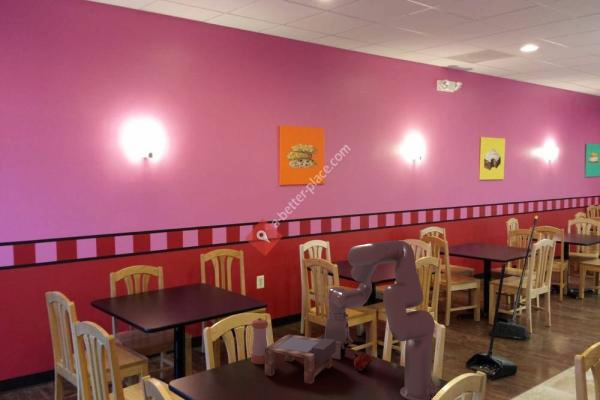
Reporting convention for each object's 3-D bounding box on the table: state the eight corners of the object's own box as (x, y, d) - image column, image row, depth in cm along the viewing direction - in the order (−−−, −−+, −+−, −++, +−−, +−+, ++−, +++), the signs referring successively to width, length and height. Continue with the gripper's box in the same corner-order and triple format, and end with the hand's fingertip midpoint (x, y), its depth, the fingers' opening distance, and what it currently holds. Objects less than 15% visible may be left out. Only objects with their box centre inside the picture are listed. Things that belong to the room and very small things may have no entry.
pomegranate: (372, 373, 224) (356, 355, 228) (381, 363, 220) (364, 345, 225) (362, 380, 219) (346, 362, 223) (370, 370, 215) (354, 351, 219)
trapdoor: (336, 351, 221) (336, 339, 221) (322, 362, 209) (322, 349, 208) (291, 344, 230) (291, 332, 230) (276, 354, 218) (276, 342, 217)
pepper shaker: (270, 363, 230) (270, 319, 229) (254, 365, 227) (254, 321, 226) (265, 357, 237) (265, 314, 236) (249, 359, 234) (249, 316, 233)
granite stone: (344, 355, 239) (344, 342, 239) (339, 359, 234) (339, 346, 234) (333, 354, 241) (333, 341, 241) (329, 357, 237) (329, 344, 236)
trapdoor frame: (331, 366, 226) (331, 340, 226) (311, 384, 208) (311, 356, 207) (288, 358, 235) (288, 334, 235) (264, 374, 217) (264, 348, 216)
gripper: (358, 315, 236) (357, 356, 237) (322, 311, 244) (322, 350, 245) (352, 320, 230) (351, 361, 231) (316, 315, 237) (315, 355, 238)
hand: (336, 355), depth 238 cm, fingers closed on granite stone, 5 cm apart
